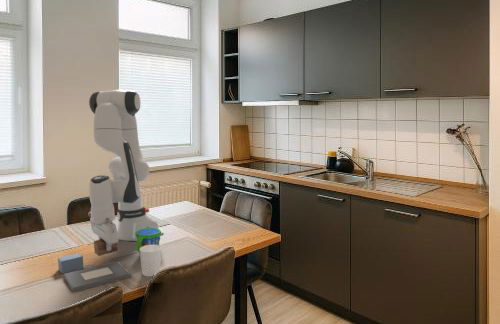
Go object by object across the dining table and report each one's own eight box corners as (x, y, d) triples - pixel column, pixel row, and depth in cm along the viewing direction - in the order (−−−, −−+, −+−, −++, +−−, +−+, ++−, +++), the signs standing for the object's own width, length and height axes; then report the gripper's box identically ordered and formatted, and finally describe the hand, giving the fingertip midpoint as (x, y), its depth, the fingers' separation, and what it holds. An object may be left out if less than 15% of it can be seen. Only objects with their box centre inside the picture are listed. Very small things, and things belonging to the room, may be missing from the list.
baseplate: (117, 264, 160) (117, 261, 160) (129, 277, 149) (129, 273, 149) (64, 277, 148) (63, 273, 148) (73, 291, 137) (72, 287, 137)
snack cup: (150, 246, 181) (149, 224, 180) (169, 249, 177) (169, 227, 176) (127, 258, 167) (126, 235, 166) (147, 262, 163) (146, 238, 161)
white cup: (163, 268, 157) (162, 244, 155) (159, 277, 149) (158, 251, 148) (143, 268, 157) (142, 244, 155) (138, 277, 149) (137, 252, 147)
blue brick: (80, 264, 160) (79, 253, 160) (83, 268, 157) (82, 256, 156) (58, 269, 155) (57, 257, 155) (61, 273, 152) (61, 261, 151)
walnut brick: (113, 247, 168) (112, 236, 167) (118, 250, 164) (117, 239, 163) (94, 252, 162) (93, 241, 162) (98, 256, 159) (97, 244, 158)
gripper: (120, 220, 155) (123, 253, 157) (101, 209, 170) (104, 239, 173) (104, 223, 151) (107, 258, 153) (86, 212, 166) (89, 243, 169)
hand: (105, 248), depth 163 cm, fingers closed on walnut brick, 4 cm apart
